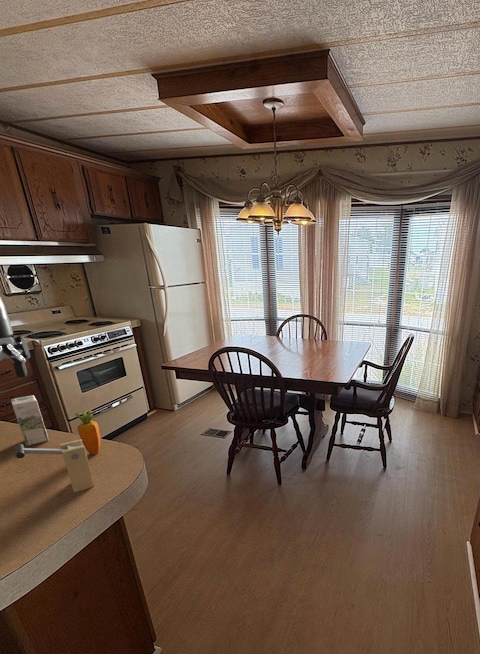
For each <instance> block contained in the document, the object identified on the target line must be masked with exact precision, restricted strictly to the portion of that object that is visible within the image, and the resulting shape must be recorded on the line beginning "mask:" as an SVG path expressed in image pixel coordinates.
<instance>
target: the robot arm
mask: <svg viewBox="0 0 480 654" xmlns="http://www.w3.org/2000/svg"><path fill="white" fill-rule="evenodd" d="M30 358H31V353H30V351H29V348H28V345H27V342H26V338H25V337H24V336H23V335H14V331H13V328H12V324H11V321H10V318H9V314H8V311H7V308H6V305H5V303H4V301H3V298H2V296H1V295H0V361H3V360H4V359H9V360H10V361H11V362H13V363H12V366H13V368H14V371H15V375H16V377H18V378H26V377H28V370H27V366H26V361H27V359H30Z"/></svg>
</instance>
